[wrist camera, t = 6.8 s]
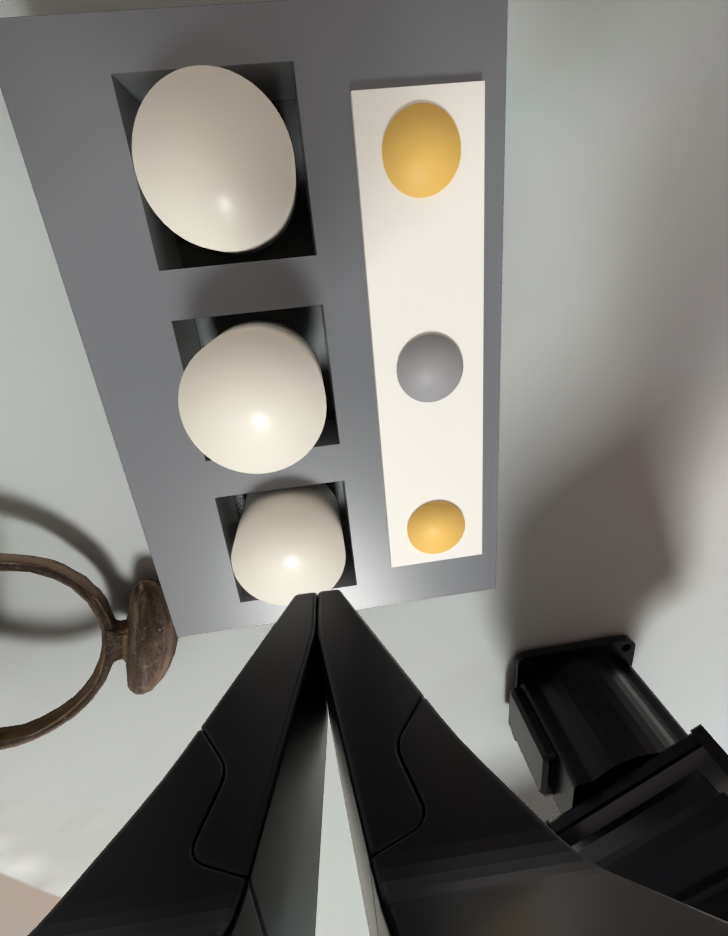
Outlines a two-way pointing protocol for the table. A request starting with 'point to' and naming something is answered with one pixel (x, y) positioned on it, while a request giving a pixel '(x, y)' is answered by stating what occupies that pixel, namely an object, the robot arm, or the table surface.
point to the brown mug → (104, 642)
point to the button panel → (250, 283)
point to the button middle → (254, 398)
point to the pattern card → (426, 308)
